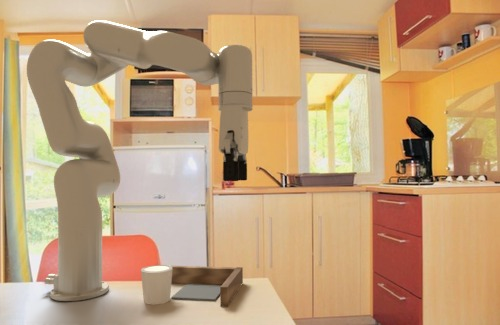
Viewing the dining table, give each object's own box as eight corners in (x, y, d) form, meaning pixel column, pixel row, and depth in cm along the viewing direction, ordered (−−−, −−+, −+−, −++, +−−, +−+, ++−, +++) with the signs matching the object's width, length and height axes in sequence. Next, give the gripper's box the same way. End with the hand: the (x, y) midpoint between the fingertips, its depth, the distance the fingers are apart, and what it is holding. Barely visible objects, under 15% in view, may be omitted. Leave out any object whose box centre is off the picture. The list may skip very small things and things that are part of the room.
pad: (171, 298, 83) (171, 297, 83) (186, 285, 93) (186, 284, 93) (214, 301, 81) (214, 299, 81) (225, 287, 91) (225, 285, 91)
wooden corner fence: (142, 302, 81) (142, 283, 81) (171, 280, 98) (171, 265, 98) (227, 306, 78) (227, 287, 78) (242, 283, 94) (242, 267, 95)
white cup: (164, 306, 78) (164, 272, 79) (134, 304, 80) (134, 271, 80) (177, 295, 85) (177, 265, 85) (149, 294, 86) (149, 263, 87)
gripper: (227, 110, 91) (227, 180, 91) (208, 95, 74) (208, 181, 74) (257, 109, 90) (258, 180, 90) (245, 94, 73) (245, 181, 73)
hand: (235, 180), depth 82 cm, fingers open, 9 cm apart
